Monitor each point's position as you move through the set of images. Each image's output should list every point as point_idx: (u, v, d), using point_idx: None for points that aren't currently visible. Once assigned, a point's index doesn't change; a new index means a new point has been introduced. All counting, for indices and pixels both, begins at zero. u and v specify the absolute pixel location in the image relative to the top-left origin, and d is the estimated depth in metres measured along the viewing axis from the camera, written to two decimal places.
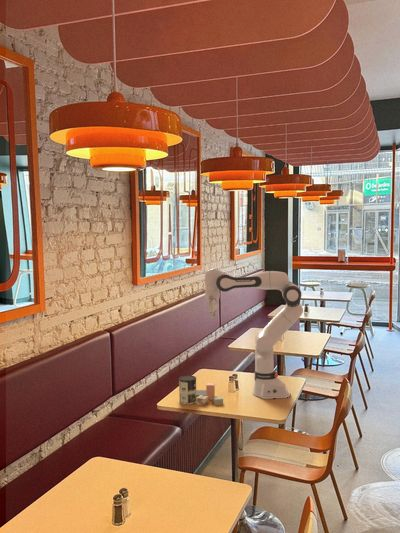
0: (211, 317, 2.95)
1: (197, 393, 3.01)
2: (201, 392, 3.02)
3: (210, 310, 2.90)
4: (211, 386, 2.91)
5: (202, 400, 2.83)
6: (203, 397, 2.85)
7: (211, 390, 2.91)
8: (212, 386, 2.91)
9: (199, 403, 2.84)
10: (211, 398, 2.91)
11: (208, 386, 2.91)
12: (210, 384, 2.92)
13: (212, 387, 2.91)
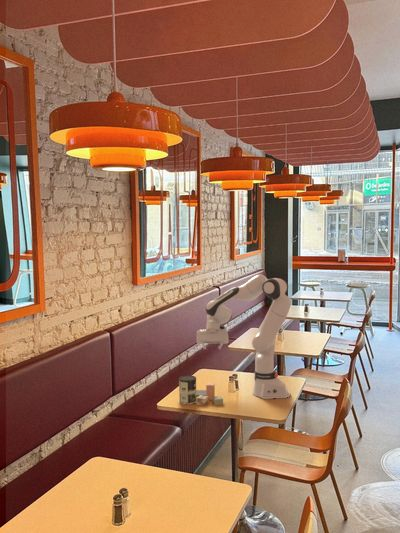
0: (203, 347, 3.05)
1: (197, 393, 3.01)
2: (201, 392, 3.02)
3: (196, 340, 3.08)
4: (211, 386, 2.91)
5: (202, 400, 2.83)
6: (203, 397, 2.85)
7: (211, 390, 2.91)
8: (212, 386, 2.91)
9: (199, 403, 2.84)
10: (211, 398, 2.91)
11: (208, 386, 2.91)
12: (210, 384, 2.92)
13: (212, 387, 2.91)
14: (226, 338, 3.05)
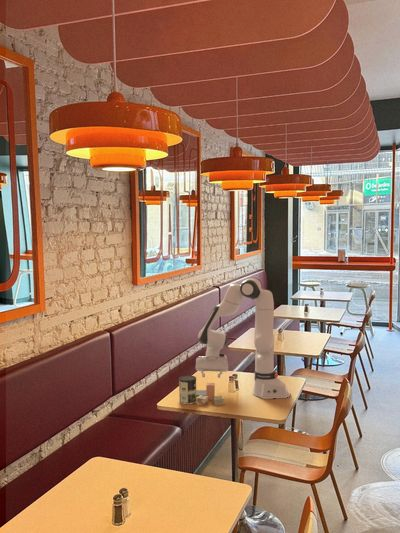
0: None
1: (197, 393, 3.01)
2: (201, 392, 3.02)
3: None
4: (211, 386, 2.91)
5: (202, 400, 2.83)
6: (203, 397, 2.85)
7: (211, 390, 2.91)
8: (212, 386, 2.91)
9: (199, 403, 2.84)
10: (211, 398, 2.91)
11: (208, 386, 2.91)
12: (210, 384, 2.92)
13: (212, 387, 2.91)
14: (226, 366, 3.01)
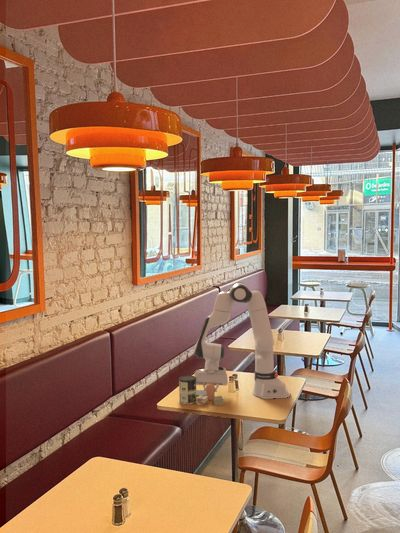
0: (204, 389, 2.94)
1: (197, 393, 3.01)
2: (201, 392, 3.02)
3: None
4: (211, 386, 2.91)
5: (202, 400, 2.83)
6: (203, 397, 2.85)
7: (211, 390, 2.91)
8: (212, 386, 2.91)
9: (199, 403, 2.84)
10: (211, 398, 2.91)
11: (208, 386, 2.91)
12: (210, 384, 2.92)
13: (212, 387, 2.91)
14: (225, 380, 2.94)
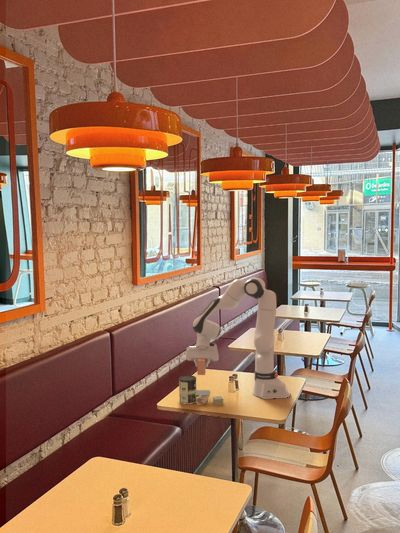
0: None
1: (197, 393, 3.01)
2: (201, 392, 3.02)
3: (186, 357, 3.05)
4: (202, 361, 2.98)
5: (202, 400, 2.83)
6: (203, 397, 2.85)
7: (202, 365, 2.98)
8: (203, 361, 2.98)
9: (199, 403, 2.84)
10: (202, 373, 2.99)
11: (199, 361, 2.98)
12: (201, 359, 3.00)
13: (203, 362, 2.98)
14: (216, 355, 3.02)
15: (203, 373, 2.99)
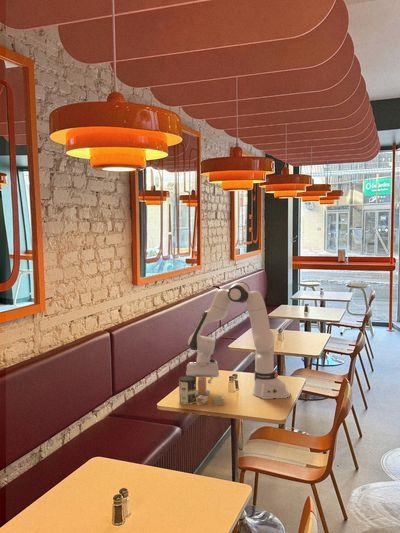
0: None
1: (197, 393, 3.01)
2: None
3: (186, 373, 3.06)
4: (202, 380, 2.99)
5: (202, 400, 2.83)
6: (203, 397, 2.85)
7: (202, 384, 2.99)
8: (203, 380, 2.99)
9: (199, 403, 2.84)
10: (202, 392, 3.00)
11: (199, 380, 2.99)
12: (202, 378, 3.01)
13: (203, 381, 2.99)
14: (216, 372, 3.03)
15: (204, 392, 3.00)
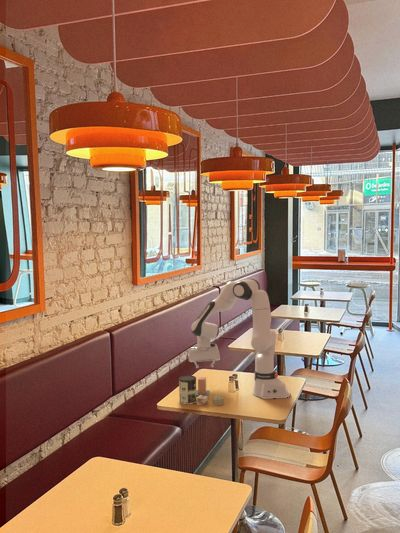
0: (196, 366, 3.13)
1: (197, 393, 3.01)
2: None
3: None
4: (202, 380, 2.99)
5: (202, 400, 2.83)
6: (203, 397, 2.85)
7: (202, 384, 2.99)
8: (203, 380, 2.99)
9: (199, 403, 2.84)
10: (202, 392, 3.00)
11: (199, 380, 2.99)
12: (202, 378, 3.01)
13: (203, 381, 2.99)
14: (217, 355, 3.14)
15: (204, 392, 3.00)
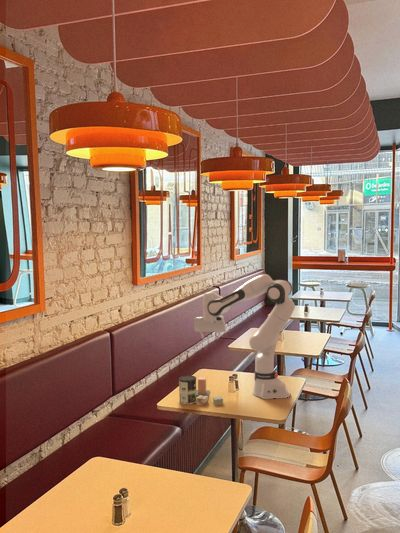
0: None
1: (197, 393, 3.01)
2: None
3: (194, 329, 3.14)
4: (202, 380, 2.99)
5: (202, 400, 2.83)
6: (203, 397, 2.85)
7: (202, 384, 2.99)
8: (203, 380, 2.99)
9: (199, 403, 2.84)
10: (202, 392, 3.00)
11: (199, 380, 2.99)
12: (202, 378, 3.01)
13: (203, 381, 2.99)
14: (223, 329, 3.11)
15: (204, 392, 3.00)
